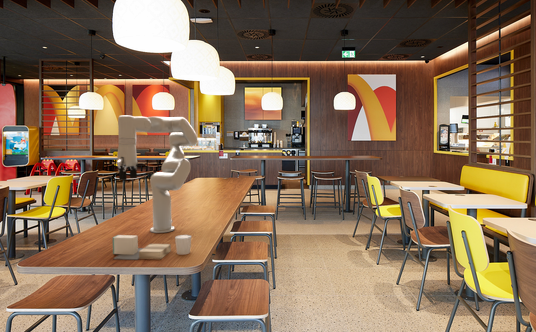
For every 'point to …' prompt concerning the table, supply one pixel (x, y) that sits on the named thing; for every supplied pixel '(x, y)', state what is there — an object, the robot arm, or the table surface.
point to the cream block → (125, 244)
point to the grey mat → (129, 256)
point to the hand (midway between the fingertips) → (128, 179)
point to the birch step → (154, 251)
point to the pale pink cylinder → (183, 244)
